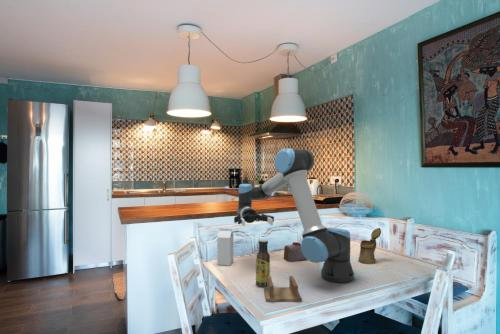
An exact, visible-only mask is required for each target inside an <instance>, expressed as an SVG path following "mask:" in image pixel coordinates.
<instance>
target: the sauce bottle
mask: <svg viewBox="0 0 500 334" xmlns="http://www.w3.org/2000/svg"><path fill="white" fill-rule="evenodd" d="M268 244H269V240H268V239H259V240H258V252H257V253H256V255H255V256H256V257H255V285H257V286H258V287H261V288H262V287H263V288H267V276H271V275H270V274H271V273H270V272H271V255H270V253H269V251H268Z"/></svg>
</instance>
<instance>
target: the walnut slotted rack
mask: <svg viewBox="0 0 500 334" xmlns="http://www.w3.org/2000/svg"><path fill="white" fill-rule="evenodd" d="M288 277H289V279H288V280H289V286H288V287H286V286H285V287H279V286H278V287H274V281H273V280H272V276H271V275H270V276H267V286H266V287H263V293H264V299H265V302H266V303H281V302H302V301H303V298H302V296H301V294H300V291H299V285H298V283H297V281H296V278H295V277H294V275H289V276H288Z"/></svg>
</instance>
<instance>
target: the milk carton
mask: <svg viewBox="0 0 500 334" xmlns="http://www.w3.org/2000/svg"><path fill="white" fill-rule="evenodd" d="M216 237H217V238H216V240H217V242H216V243H217V245H216V249H217V251H216V253H217V255H216V256H217V259H216V261H217V266H226V267H227V266H231V265H232V264H233V263H234V233H233V229H232V228H218V233H217V236H216Z"/></svg>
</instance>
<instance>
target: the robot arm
mask: <svg viewBox="0 0 500 334" xmlns="http://www.w3.org/2000/svg"><path fill="white" fill-rule="evenodd" d="M314 166H315V157H314V155H313V154H312V152H311V151H309V150H308V149H304V148H303V149H302V148H290V147H287V148H282V149H280V150H279V151H278V152H277V154H275V158H274V168H275V170H276V171H277V172H278V173H276V174H274V176H272V177H271V178H269V179H268V180H267V181H265V182H264V183H263V184H261V185H259V186H253V185H252V184H251V183H240V184H239V186H238V204H237V205H238V206H237V207H236V208H237V209H236V213H237V215H236V216H235V217H234V218H233V219H234V220H233V222H234V223H235V224H237V225H242V227H246V223H247V224H251V223H252V224H253V223H254V222H261V221H262V222H267V223H268V224H269V225H270V226H273V224H274V221H275V216H273V215H268V214H265V213H261V214H260V213H257V212H256V210H255V209H253V208H252V205H253V201H257V200H267V199H270V198H271V197H272V195H273V193H275V192H276V191H278V190H279V189H281V188H282V187H284V186H286V185H287V184H289V188H290V192H291V194H292V198H293V200H294V204H295V207H296V210H297V213H298V215H299V219H300V223H301V225H302V228H303V231H302V234H301V236H302V240H301V242H300V244H301V251H302V253H303V255H304V257H305V258H306V259H305V260H307V261H309V262H311V263H313V264H316V263H317V264H318V263H323V265H322V267H321V271H320V276H321V278H322V279H323V280H325V281H327V282H331V283H337V284H344V283H345V284H347V283H351V282H353V281H354V280H355V272H354V269H353V266H352V263H351V232H350V231H349V230H347V229H345V228H344V229H343V228H338V227H327V226H325V225H323V223H322V220H321V217H320V214H319V212H318V208H317V205H316V203H315V199H314V197H313V193H312V191H311V188H310V185H309V181H308V179H307V177H306V176H307V173H309V172H310V171H311V170H313V168H314Z"/></svg>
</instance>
